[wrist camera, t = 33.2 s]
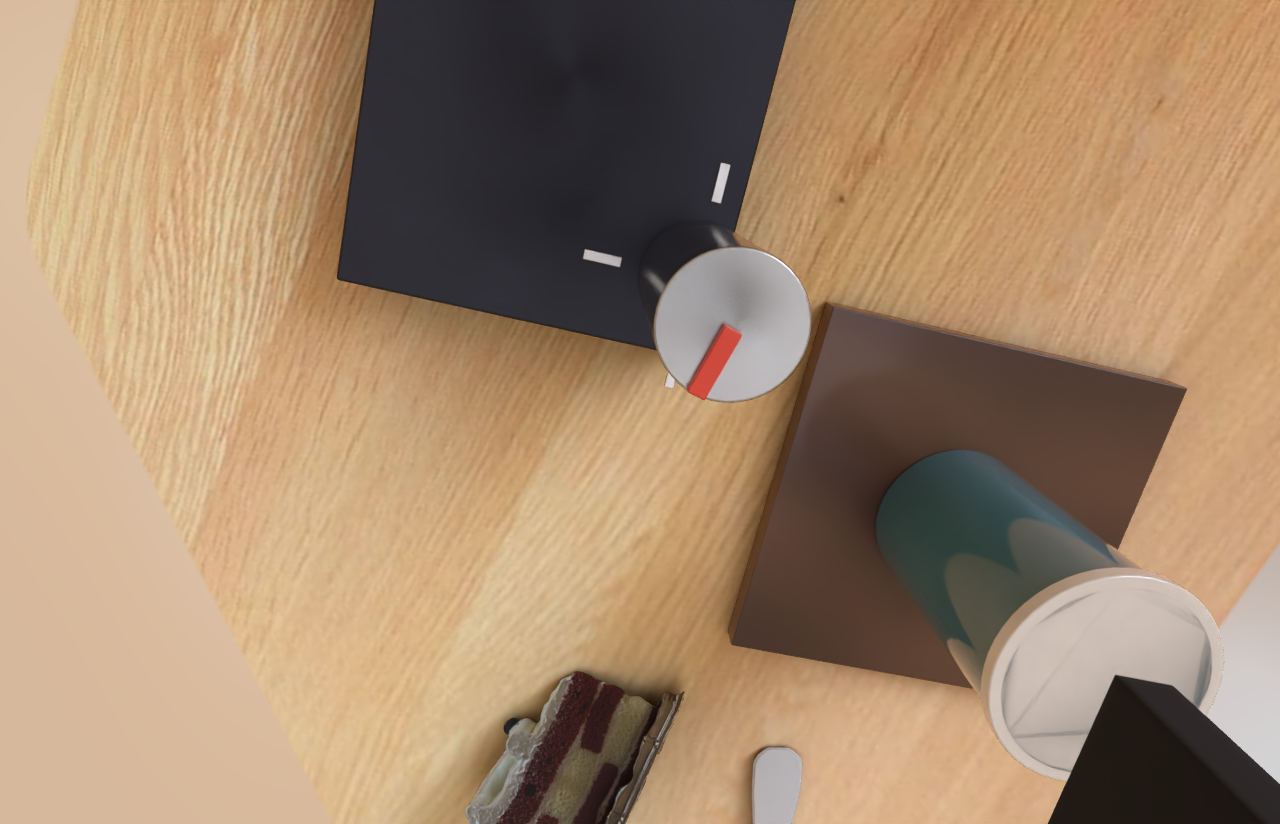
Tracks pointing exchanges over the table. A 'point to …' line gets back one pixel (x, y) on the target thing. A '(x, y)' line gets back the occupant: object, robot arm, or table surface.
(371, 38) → the hob
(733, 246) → the knob
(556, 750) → the chocolate cake
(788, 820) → the fork
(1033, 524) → the pot
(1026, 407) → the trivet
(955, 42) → the table surface
